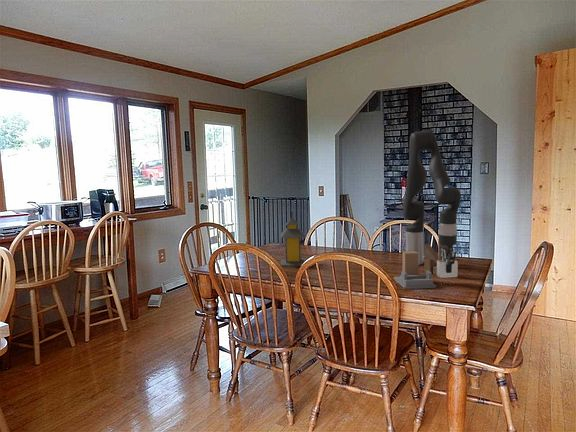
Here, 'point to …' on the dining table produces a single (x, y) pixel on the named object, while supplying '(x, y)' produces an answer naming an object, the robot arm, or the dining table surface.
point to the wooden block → (431, 258)
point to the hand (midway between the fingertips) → (447, 271)
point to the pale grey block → (442, 269)
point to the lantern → (292, 243)
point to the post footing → (413, 273)
